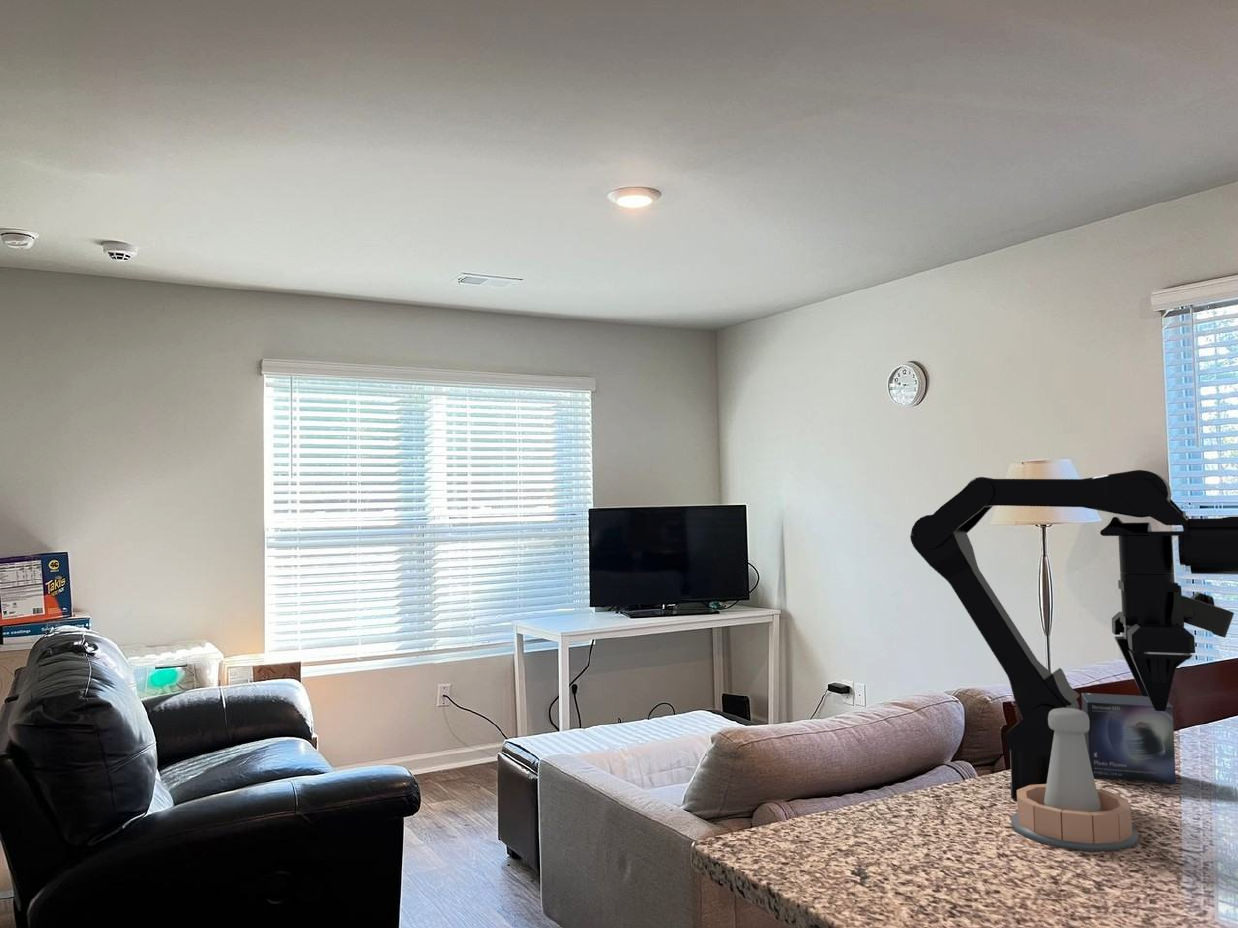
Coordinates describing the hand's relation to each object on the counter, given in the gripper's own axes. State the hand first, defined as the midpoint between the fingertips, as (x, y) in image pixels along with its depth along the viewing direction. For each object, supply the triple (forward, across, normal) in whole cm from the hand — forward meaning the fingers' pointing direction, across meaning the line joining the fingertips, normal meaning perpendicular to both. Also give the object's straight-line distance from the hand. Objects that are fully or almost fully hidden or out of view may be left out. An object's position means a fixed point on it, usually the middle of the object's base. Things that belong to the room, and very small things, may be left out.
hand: (1153, 703), depth 110 cm
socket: (+13, -10, +10) cm, 19 cm away
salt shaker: (+13, -10, +10) cm, 19 cm away
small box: (+13, +17, +1) cm, 22 cm away
